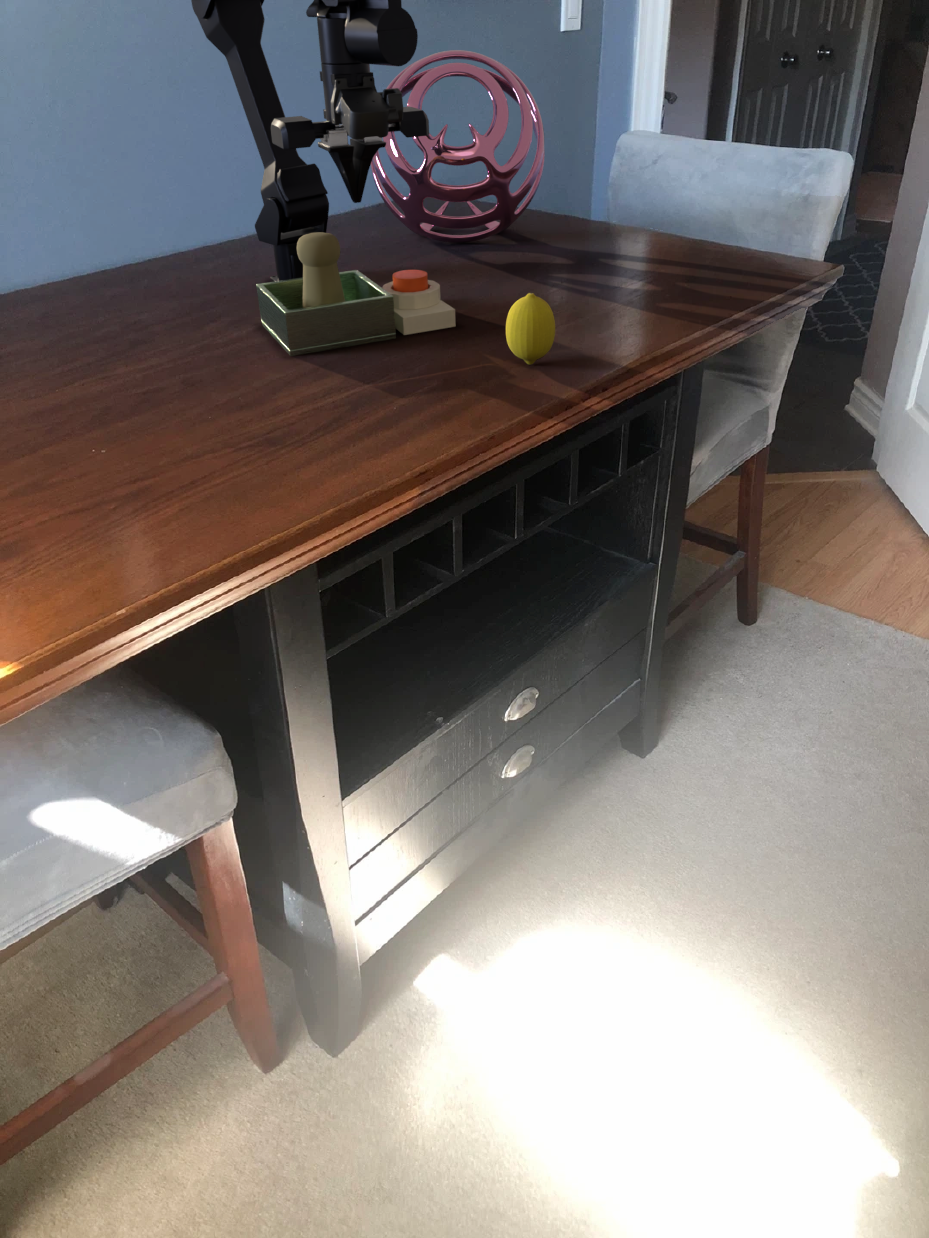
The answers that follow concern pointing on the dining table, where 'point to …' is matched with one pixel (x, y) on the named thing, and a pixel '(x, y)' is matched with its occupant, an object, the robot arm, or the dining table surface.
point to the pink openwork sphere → (463, 153)
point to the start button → (410, 281)
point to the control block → (420, 310)
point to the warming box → (326, 315)
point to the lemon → (530, 328)
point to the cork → (320, 269)
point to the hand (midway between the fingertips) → (356, 202)
